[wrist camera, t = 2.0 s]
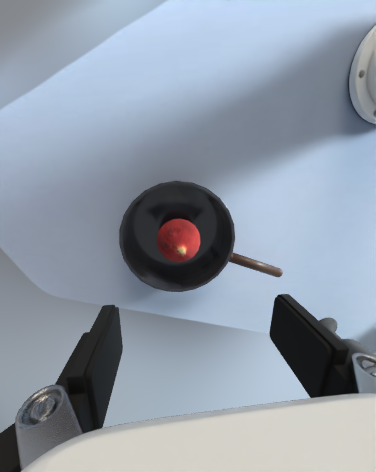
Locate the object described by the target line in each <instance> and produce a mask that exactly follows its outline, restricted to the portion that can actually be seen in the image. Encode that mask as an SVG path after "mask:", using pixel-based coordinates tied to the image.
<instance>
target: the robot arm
mask: <svg viewBox="0 0 376 472" xmlns="http://www.w3.org/2000/svg"><path fill="white" fill-rule="evenodd" d="M349 89H350V97H351V100H352V103H353V106H354V108H355V110H356V111H357V113H358V114H359V115H360V116H361V117H362V118H363V119H365V120H366V121H368V122H370V123H373V124H376V25H375V26H374V27H373V28H372V29H371V30H370V32H369V33H368V34H367V35H366V37H365V38H364V39H363V41H362V42H361V44H360V46H359V48H358V50H357V52H356V54H355V57H354V60H353V63H352V66H351V72H350V79H349ZM270 337H271V340H272V341H273V343H274V344H275V346H276V347H277V349H278V350H279V352H280V353H281V355H282V356H283V358H284V359H285V361H286V362H287V364H288V365H289V366H290V368H291V369H292V371H293V372H294V374H295V375H296V377H297V378H298V380H299V381H300V383H301V384H302V386H303V387H304V389H305V390H306V392H307V393H308V394H309V396H310V397H311V398H308V399H301V400H292V401H284V402H276V403H269V404H261V405H253V406H245V407H238V408H230V409H223V410H215V411H208V412H201V413H194V414H187V415H179V416H171V417H165V418H157V419H151V420H145V421H138V422H132V423H125V424H119V425H115V426H110V427H105V428H102V427H103V423H104V420H105V416H106V412H107V408H108V404H109V401H110V397H111V393H112V389H113V385H114V381H115V377H116V374H117V370H118V366H119V362H120V359H121V355H122V347H123V346H122V337H121V327H120V317H119V309H118V307H115V305H104V306H103V307H102V309H101V311H100V313H99V315H98V317H97V319H96V321H95V322H94V324H93V326H92V328H91V330H90V332H87V333H84V334H83V335H82V337H81V339H80V340H79V342H78V344H77V346H76V348H75V349H74V351H73V353H72V355H71V357H70V358H69V360H68V362H67V364H66V366H65V367H64V369H63V371H62V373H61V375H60V376H59V378H58V380H57V382H56V384H55V385H50V386H47V387H45V388H43V389H40V390H38V391H37V392H36V393H34V394H33V395H32V396H30V397H29V398H28V399H27V400H26V401H25V402H24V404H23V405H22V407H21V408H20V409H19V411H18V413H17V416H16V421H15V423H14V424H12V425H11V426H10V427H8V428H7V429H6V430H4V431H3V432H2V433H0V472H376V358H375V357H373V356H371V355H368V354H364V353H354V354H353V355H351V354H350V353H349V348H348V347H347V346H346V345H345V344H344V343H343V342H342V341H340V340H339V339H338V338H337V337H336V336H335V335H334V334H333V333H331V332H330V331H329V330H328V329H327V328H326V327H325V326H324V325H323V324H321V323H320V322H319V321H318V320H317V319H316V318H315V317H314V316H312V315H311V314H310V313H309V312H308V311H307V310H306V309H305V308H304V307H302V306H301V305H300V304H299V303H298V302H297V301H296V300H295V299H293V298H292V297H291V296H290V295H289V294H281V295H278V296H277V297H276V298H275V301H274V308H273V314H272V321H271V327H270Z"/></svg>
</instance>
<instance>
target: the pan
mask: <svg viewBox="0 0 376 472" xmlns="http://www.w3.org/2000/svg"><path fill="white" fill-rule="evenodd" d="M172 219H184V220H187V221H190V222H191V223H192V224H194V225H195V226H196V228H197V230H198V232H199V234H200V246H199V249H198V251H197V253H196V254H195V255H194V257H192V258H191V259H189V260H188V261H186V262H173V261H170V260H168V259H167V258H165V257H164V256H163V255H162V253H161V252H160V251H159V249H158V245H157V240H156V239H157V235H158V231H159V230H160V228H161V227H162V226H163V225H164V224H165V223H166V222H168V221H170V220H172ZM234 241H235V232H234V223H233V220H232V218H231V215H230V213H229V210H228V209H227V207H226V206H225V205H224V203H223V202H222V201H221V199H220V198H219V197H218V196H216V195H215V194H214V193H212V192H211V191H210V190H208V189H207V188H204V187H202V186H199V185H197V184H194V183H190V182H181V181H173V182H167V183H161V184H158V185H156V186H154V187H152V188H150V189H148V190H145V191H144V192H143V193H142V194H141V195H139V196H138V197H137V198H136V199H135V200H134V201H133V202H132V203H131V205H130V206H129V208H128V209H127V211H126V212H125V214H124V216H123V220H122V223H121V226H120V248H121V252H122V255H123V259H124V260H125V262H126V264H127V265H128V267H129V269H130V270H131V272H133V273H134V274H135V275H136V276H137V277H138V278H139V279H140V280H141V281H143V282H144V283H146V284H148V285H150V286H152V287H153V288H157V289H160V290H164V291H171V292H183V291H188V290H193V289H196V288H198V287H201V286H203V285H205V284H207V283H209V282H210V281H211V280H212V279H214V278H215V277H216V276H218V275H219V273H220V272H221V271H222V270H223V269H224V267H225V266H226V265H227V263H228V261H229V259H230V256H231V254H232V252H233V247H234Z"/></svg>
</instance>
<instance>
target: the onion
mask: <svg viewBox="0 0 376 472" xmlns="http://www.w3.org/2000/svg"><path fill="white" fill-rule="evenodd" d="M156 240H157V245H158V249H159V251H160V252H161V253H162V255H163V256H164V257H165V258H167V259H168V260H170V261H173V262H186V261H188V260H189V259H191V258H192V257H194V255H195V254H196V253H197V251H198V249H199V246H200V234H199V232H198V230H197V228H196V226H195V225H194V224H192V223H191V222H190V221H187V220H184V219H172V220H170V221H168V222H166V223H165V224H164V225H163V226H162V227H161V228H160V230H159V231H158V235H157V239H156Z"/></svg>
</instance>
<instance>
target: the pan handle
mask: <svg viewBox="0 0 376 472" xmlns="http://www.w3.org/2000/svg"><path fill="white" fill-rule="evenodd" d="M229 262H232V263H235V264H238V265H241V266H244V267H247V268H250V269H253V270H257V271H260V272H263V273H266V274H269V275H272V276H275V277H280V276H282V273H283V272H282V270H281V269H280V268H277V267H274V266H271V265H268V264H265V263H262V262H259V261H256V260H253V259H250V258H247V257H244V256H241V255H238V254H235V253H232V254H231V256H230V259H229Z"/></svg>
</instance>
